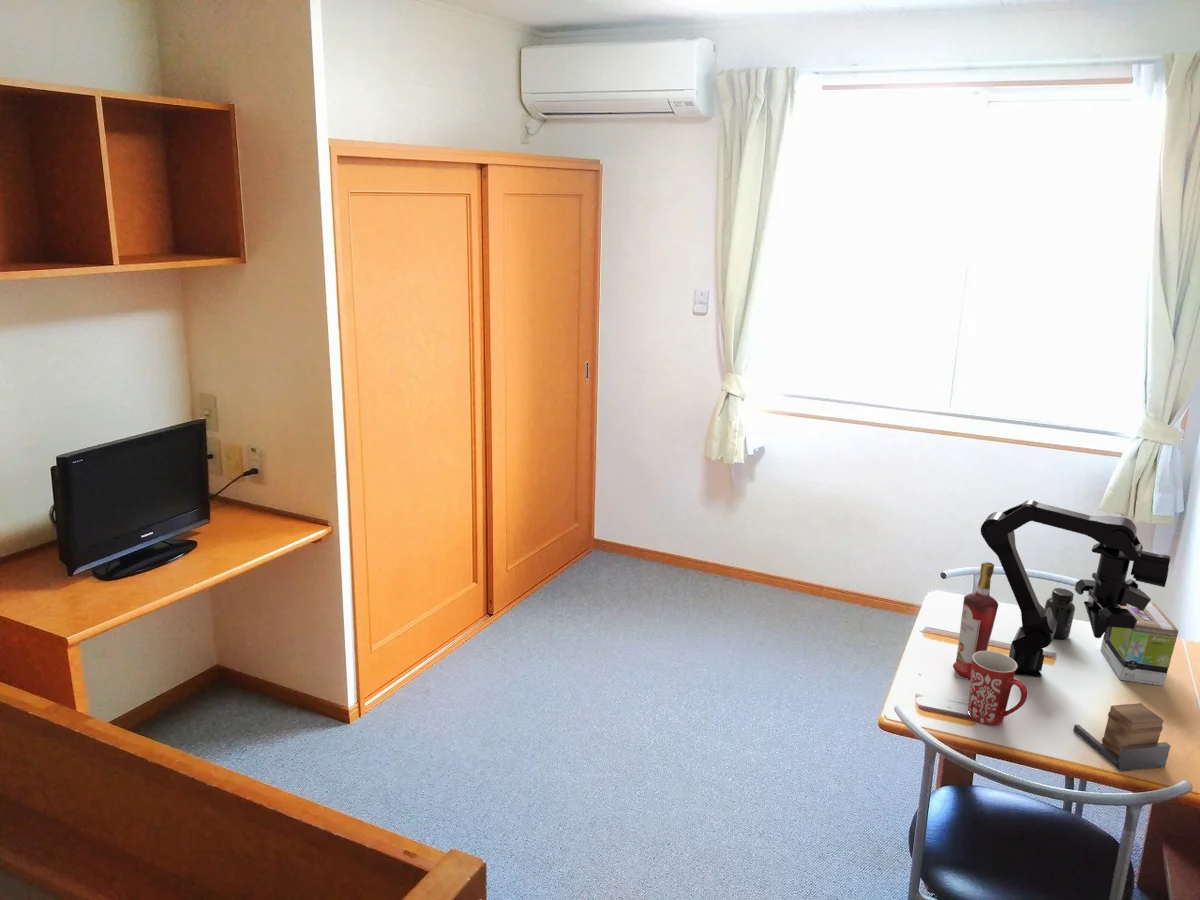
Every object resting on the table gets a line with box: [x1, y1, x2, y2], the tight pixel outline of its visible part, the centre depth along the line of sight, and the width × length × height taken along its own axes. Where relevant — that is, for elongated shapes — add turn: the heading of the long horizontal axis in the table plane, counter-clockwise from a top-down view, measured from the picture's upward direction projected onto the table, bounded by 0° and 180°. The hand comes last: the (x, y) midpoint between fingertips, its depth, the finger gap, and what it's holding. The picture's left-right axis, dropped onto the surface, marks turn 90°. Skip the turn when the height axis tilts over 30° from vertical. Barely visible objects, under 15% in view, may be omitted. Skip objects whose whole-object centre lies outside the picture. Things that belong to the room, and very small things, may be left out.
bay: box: [1073, 724, 1171, 772], centre depth 187 cm, size 14×10×5 cm
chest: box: [1101, 702, 1164, 758], centre depth 184 cm, size 6×7×10 cm
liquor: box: [952, 561, 999, 680], centre depth 209 cm, size 7×7×28 cm
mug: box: [967, 650, 1028, 727], centre depth 193 cm, size 13×9×14 cm
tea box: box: [1100, 601, 1179, 686], centre depth 217 cm, size 15×10×15 cm, turn 168°
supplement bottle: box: [1043, 587, 1076, 641], centre depth 232 cm, size 7×7×12 cm
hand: (1097, 637), depth 206 cm, fingers closed
